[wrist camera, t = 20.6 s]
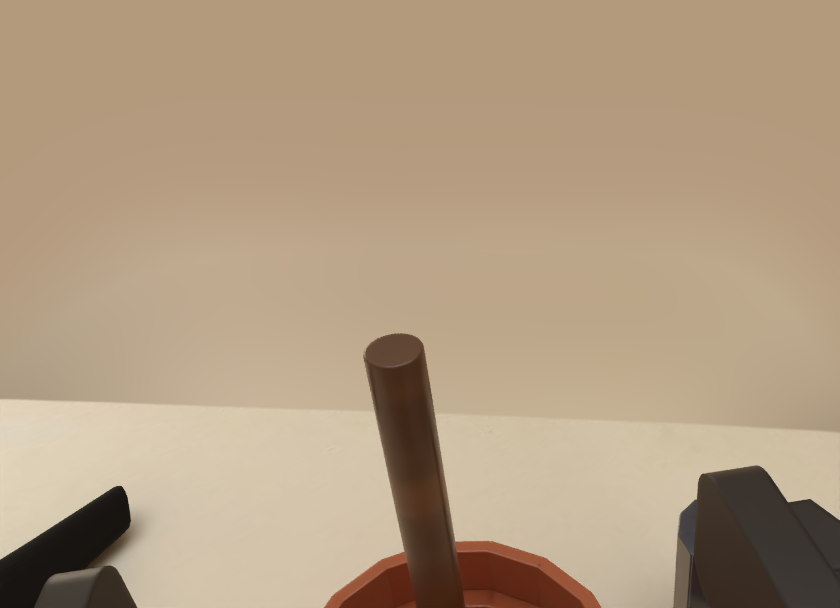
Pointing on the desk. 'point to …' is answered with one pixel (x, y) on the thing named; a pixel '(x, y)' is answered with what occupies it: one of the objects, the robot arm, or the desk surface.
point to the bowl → (473, 582)
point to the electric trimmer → (63, 548)
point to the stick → (415, 467)
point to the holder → (687, 564)
